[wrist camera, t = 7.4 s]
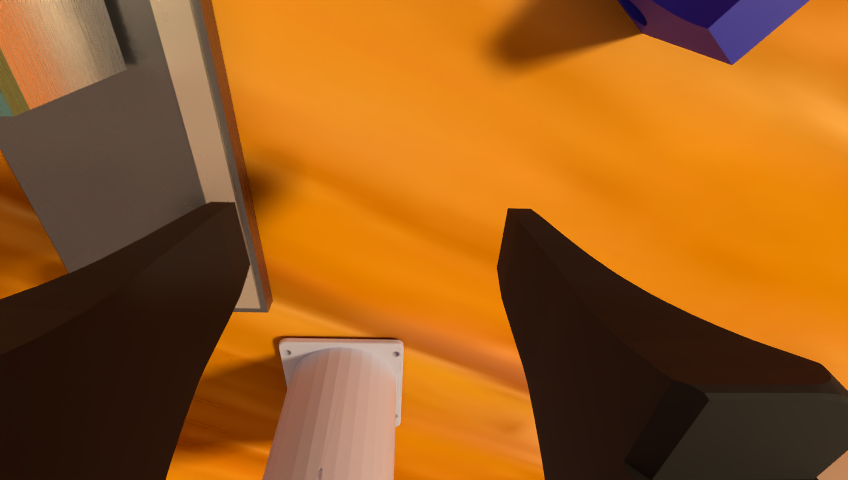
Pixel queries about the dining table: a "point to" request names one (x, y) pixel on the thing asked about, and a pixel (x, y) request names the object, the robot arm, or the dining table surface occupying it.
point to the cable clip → (711, 23)
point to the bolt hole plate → (139, 143)
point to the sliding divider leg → (53, 50)
